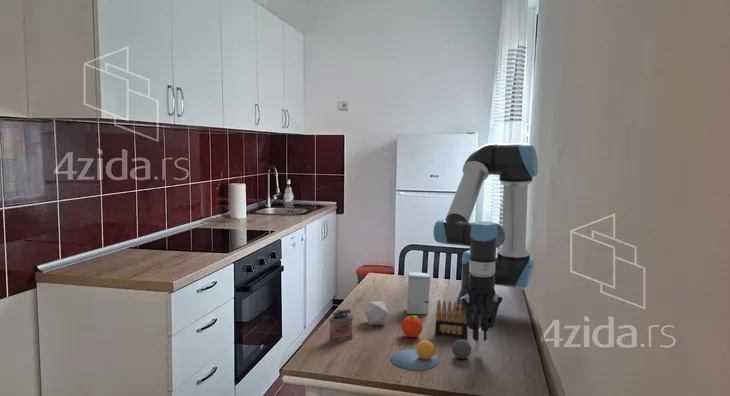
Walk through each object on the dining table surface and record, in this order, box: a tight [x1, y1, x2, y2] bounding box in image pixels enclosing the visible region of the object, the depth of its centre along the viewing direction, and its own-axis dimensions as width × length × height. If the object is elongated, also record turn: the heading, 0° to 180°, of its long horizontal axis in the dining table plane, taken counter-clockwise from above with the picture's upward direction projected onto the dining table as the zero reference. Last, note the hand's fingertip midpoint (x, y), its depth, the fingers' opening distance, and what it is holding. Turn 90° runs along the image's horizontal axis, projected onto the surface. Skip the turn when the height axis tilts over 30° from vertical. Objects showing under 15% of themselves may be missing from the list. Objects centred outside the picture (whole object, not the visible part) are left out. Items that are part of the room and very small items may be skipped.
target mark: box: [390, 348, 439, 371], centre depth 147 cm, size 14×14×1 cm
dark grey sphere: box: [452, 339, 472, 360], centre depth 149 cm, size 6×6×6 cm
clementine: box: [401, 315, 423, 338], centre depth 165 cm, size 8×7×7 cm
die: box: [364, 301, 389, 326], centre depth 176 cm, size 8×9×10 cm
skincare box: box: [406, 271, 431, 315], centre depth 189 cm, size 8×6×15 cm
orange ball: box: [415, 340, 436, 360], centre depth 147 cm, size 6×6×6 cm
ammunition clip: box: [434, 299, 468, 340], centre depth 166 cm, size 11×2×12 cm, turn 74°
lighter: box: [328, 308, 354, 343], centre depth 161 cm, size 8×3×10 cm, turn 117°
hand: (478, 350), depth 150 cm, fingers closed
